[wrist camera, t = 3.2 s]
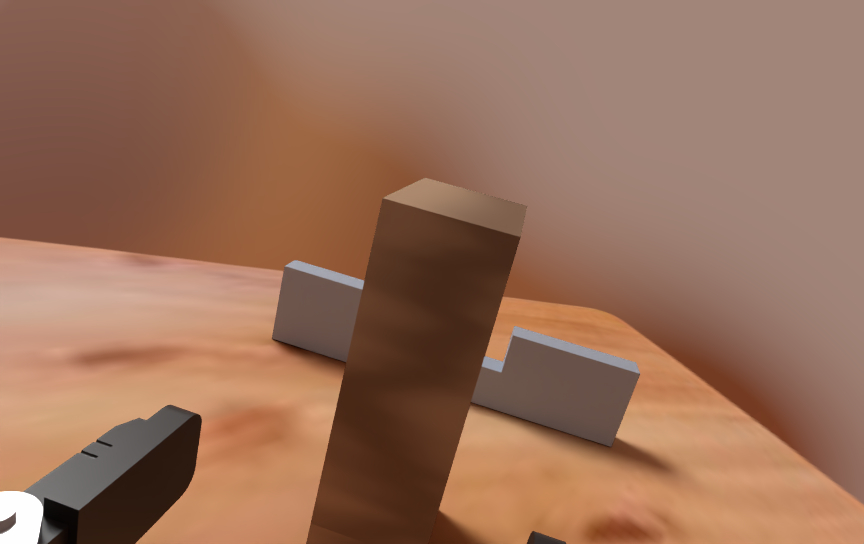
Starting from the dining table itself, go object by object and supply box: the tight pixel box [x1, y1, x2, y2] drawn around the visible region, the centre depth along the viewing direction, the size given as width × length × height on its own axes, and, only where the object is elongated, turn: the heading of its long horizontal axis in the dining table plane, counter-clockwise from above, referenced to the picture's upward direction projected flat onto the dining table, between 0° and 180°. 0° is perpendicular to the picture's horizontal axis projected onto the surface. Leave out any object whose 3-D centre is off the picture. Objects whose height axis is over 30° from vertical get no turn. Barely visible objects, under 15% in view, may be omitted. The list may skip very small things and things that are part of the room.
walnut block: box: [306, 178, 527, 544], centre depth 21 cm, size 4×6×14 cm, turn 169°
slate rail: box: [272, 260, 640, 447], centre depth 35 cm, size 22×2×5 cm, turn 79°
